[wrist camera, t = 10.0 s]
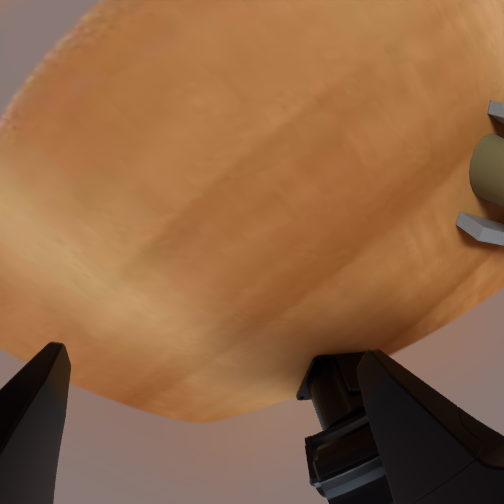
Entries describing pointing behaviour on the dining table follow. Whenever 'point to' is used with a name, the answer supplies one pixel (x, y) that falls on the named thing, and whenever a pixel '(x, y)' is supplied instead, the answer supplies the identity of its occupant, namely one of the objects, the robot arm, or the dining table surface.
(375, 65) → the dining table surface
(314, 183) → the dining table surface
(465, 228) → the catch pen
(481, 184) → the olive pawn
